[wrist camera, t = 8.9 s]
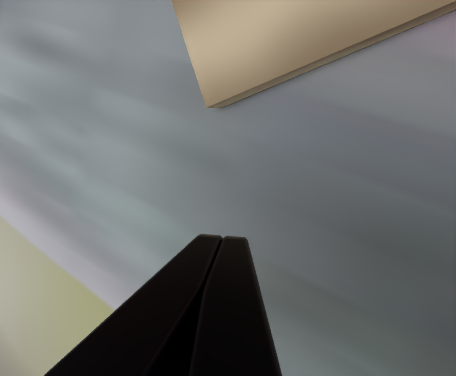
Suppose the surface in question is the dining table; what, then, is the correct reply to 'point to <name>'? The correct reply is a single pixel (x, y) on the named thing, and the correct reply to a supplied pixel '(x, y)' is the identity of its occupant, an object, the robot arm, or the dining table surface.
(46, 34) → the dining table surface
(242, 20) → the book shelf
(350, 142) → the dining table surface
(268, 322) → the robot arm
